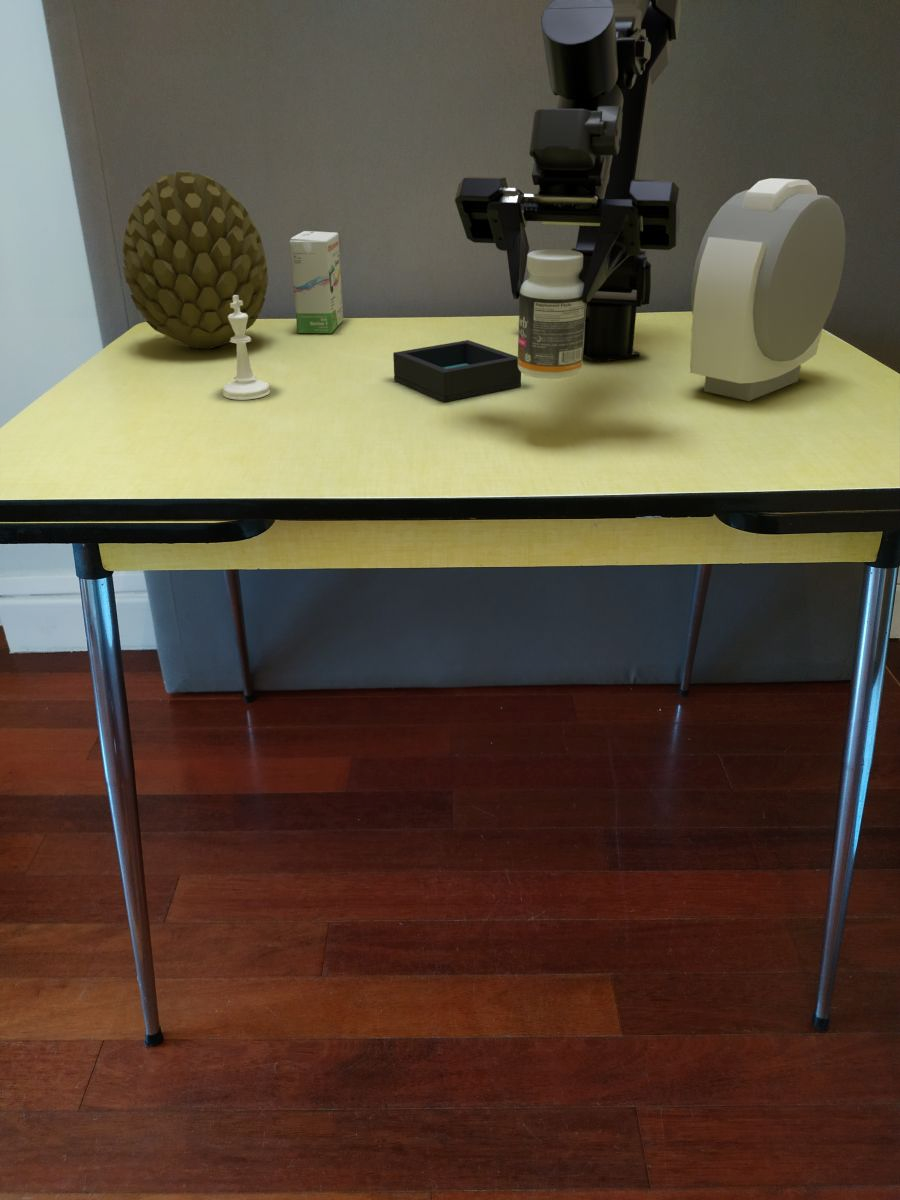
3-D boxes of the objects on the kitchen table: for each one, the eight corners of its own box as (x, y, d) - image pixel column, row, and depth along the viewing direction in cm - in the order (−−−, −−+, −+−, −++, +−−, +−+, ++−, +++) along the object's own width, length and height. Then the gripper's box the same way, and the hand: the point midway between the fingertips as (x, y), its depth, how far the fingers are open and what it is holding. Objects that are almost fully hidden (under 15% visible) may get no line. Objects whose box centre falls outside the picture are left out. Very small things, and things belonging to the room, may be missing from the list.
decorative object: (287, 354, 111) (271, 174, 101) (144, 368, 106) (112, 179, 96) (260, 326, 125) (243, 165, 115) (132, 337, 119) (103, 169, 109)
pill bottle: (516, 363, 83) (519, 248, 78) (579, 362, 83) (586, 247, 78) (518, 381, 78) (521, 259, 73) (585, 381, 78) (592, 259, 73)
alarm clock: (758, 363, 106) (788, 172, 96) (828, 377, 100) (868, 176, 91) (671, 395, 95) (695, 182, 85) (744, 412, 89) (779, 188, 80)
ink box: (332, 334, 120) (326, 239, 114) (296, 333, 121) (287, 239, 115) (344, 320, 128) (339, 230, 122) (310, 319, 128) (303, 230, 122)
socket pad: (468, 366, 105) (468, 339, 104) (521, 386, 98) (522, 357, 97) (393, 380, 100) (392, 352, 99) (443, 402, 93) (443, 372, 92)
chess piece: (278, 388, 98) (269, 292, 93) (255, 401, 94) (244, 301, 89) (238, 384, 99) (227, 289, 94) (214, 397, 95) (200, 298, 90)
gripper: (460, 68, 75) (419, 231, 71) (693, 65, 70) (661, 240, 66) (486, 166, 85) (451, 312, 82) (690, 169, 80) (662, 325, 76)
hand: (549, 298), depth 76 cm, fingers closed on pill bottle, 6 cm apart
